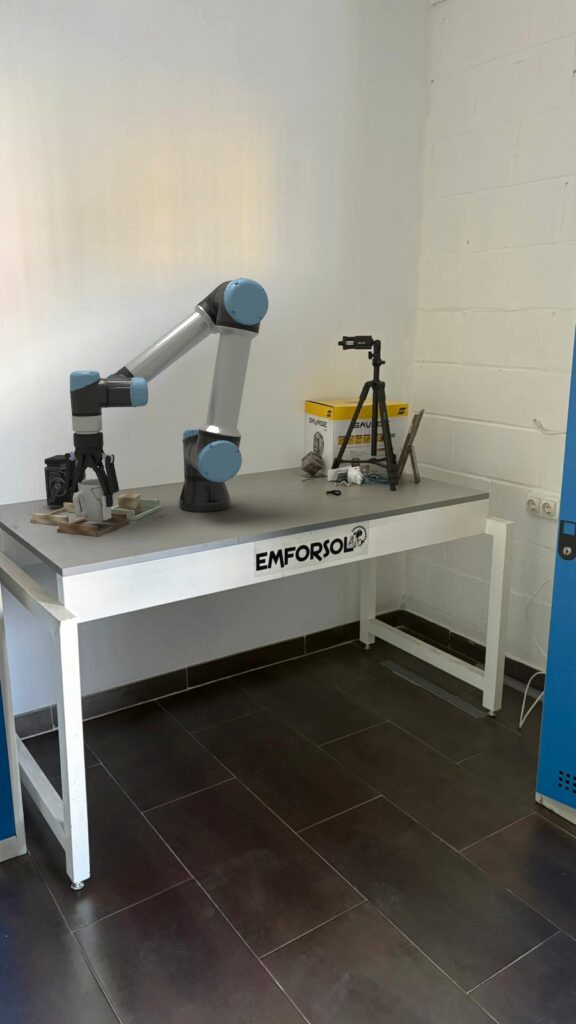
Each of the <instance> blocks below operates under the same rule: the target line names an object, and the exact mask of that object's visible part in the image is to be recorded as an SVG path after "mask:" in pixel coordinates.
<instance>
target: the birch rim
mask: <svg viewBox="0 0 576 1024" xmlns="http://www.w3.org/2000/svg"><path fill="white" fill-rule="evenodd" d="M63 504H64V508H58V509H56V510H54V511H50V512H48V513H37V512H33V513H32V518H31V519H30V523H31V524H41V525H43V524H44V525H50V526H51V525H52V526H59V523H61V522H62V523H74V522H76V521H79V520H81V519H84V517H78V518H76V519H74V520H72V521H70V520H69V516H67V515H58V514H60V513H61V514H62V513H64V512H67V513H75V508H74V504H73V503H66V502H65V503H63ZM69 521H70V522H69Z"/></svg>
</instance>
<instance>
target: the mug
mask: <svg viewBox="0 0 576 1024" xmlns="http://www.w3.org/2000/svg"><path fill="white" fill-rule="evenodd" d="M78 489H79V492H76V493H75V494H74V495H73V504H74V508H75V512H76V515H77V516H78V517H77V518H82V517H84V519H85V520H87V522H104V521H103V507H102V495H103V494H104V492H103V489H102V487H101V485H100V482H99V480H98V478H89V479H86V480H83V481H82V483H80V482H78ZM79 497H80V503H81V507H82V511H83V512H82V513H81V510H80V505H79ZM75 512H74V513H75Z"/></svg>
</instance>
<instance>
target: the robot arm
mask: <svg viewBox="0 0 576 1024" xmlns="http://www.w3.org/2000/svg"><path fill="white" fill-rule="evenodd" d="M268 310H269V297H268V294H267V292H266V290H265V288H264V287H263V286H262V284H260V282H257V281H256V280H254V279H251V278H243V277H239V278H235V279H231V280H230V279H229V280H227V281H224V282H223V281H222V283H221V284H218V285H217V286H215V288H214V289H213V290H212V291H211V292H210V293H209V294H208V295H206V296H205V298H203V299H202V300H201V301H199V302H198V303H197V304H196V305H195V307H194V311H193V312H192V313H191V314H189V315H188V316H186V317H185V318H184V319H182V321H180V322H179V323H177V324H176V325H175V326H173V328H171V329H170V330H168V331H167V332H166V333H164V334H163V335H162V336H160V337H159V338H158V339H157V340H155V341H154V342H153V343H152V344H151V345H149V346H148V347H147V348H145V349H144V350H143V351H141V352H140V353H139V354H138V355H136V357H133V358H132V359H131V360H130V361H129V362H128V363H126V364H125V365H124V366H122V367H121V368H120V369H119V370H117V371H116V372H114V373H112V374H109V375H108V376H106V378H103V377H101V375H100V372H99V371H97V370H76V371H72V372H71V373H70V374H69V395H70V408H71V423H72V424H71V425H72V427H71V428H72V429H71V430H72V431H73V434H72V438H73V447H74V451H69V452H66V453H64V455H65V459H66V470H65V484H64V488H65V489H66V490H69V491H71V493H72V503H73V495H74V494H75V493H76V492H78V491H79V489H78V482H80V483H82V480H83V477H84V473H86V470H87V468H89V469H91V470H92V471H93V472H94V473H95V475H96V479H98V480H99V482H100V485H101V487H102V489H103V492H104V494H103V495H102V507H103V520H107V519H110V518H111V508H112V507H114V498H113V497H114V496H113V495H114V494H115V493H116V494H117V493H118V492H120V487H119V482H118V477H117V472H116V467H115V454H107V453H105V451H104V444H105V443H104V433H103V431H102V430H103V427H104V426H103V412H102V409H108V408H134V409H135V408H138V407H145V406H146V405H148V403H149V386H148V384H149V383H151V381H152V380H153V379H155V378H156V377H157V376H159V375H160V374H161V373H163V372H164V371H165V370H167V369H168V368H169V367H170V366H172V365H173V364H175V363H176V362H177V361H178V360H179V359H180V358H182V357H183V356H184V355H186V354H188V353H189V352H190V351H191V350H192V349H193V348H195V347H196V346H198V344H200V343H201V342H203V341H204V340H205V339H206V338H207V337H209V336H211V334H213V335H217V334H219V339H218V343H217V352H216V358H215V362H214V368H213V369H214V370H213V376H212V382H211V389H210V395H209V401H208V408H207V414H206V421H205V423H204V424H203V425H201V426H200V427H199V428H198V429H197V428H195V429H186V430H184V432H183V433H182V440H181V441H182V448H183V449H182V450H183V451H182V452H183V475H184V476H183V477H184V479H183V480H184V481H183V485H182V487H181V492H180V495H179V499H178V502H179V503H178V505H179V509H181V510H184V511H188V512H194V513H195V512H198V513H199V512H201V513H202V512H203V513H205V512H217V511H218V512H219V511H222V510H225V509H226V510H227V509H229V508H230V507H231V506H232V505H231V504H232V503H231V495H230V493H229V491H228V487H227V484H226V482H227V481H230V480H232V479H233V478H234V477H235V476H237V474H238V473H239V471H240V470H241V469H242V468H241V467H242V463H243V462H242V461H243V456H242V452H241V451H240V446H241V438H242V434H241V433H240V431H239V430H238V425H239V417H240V413H241V412H240V411H241V405H242V399H243V395H244V387H245V383H246V382H245V381H246V377H247V376H246V375H247V370H248V364H249V359H250V351H251V346H252V342H253V341H252V340H254V339H255V338H257V336H259V334H260V327H261V321H262V320H263V319H264V318H265V316H266V315H267V313H268ZM75 459H77V460H78V463H77V466H76V473H75ZM74 474H75V476H74ZM79 505H80V510H81V513H82V512H83V511H82V507H81V503H80V497H79ZM74 516H75V518H79V517H78V516H77V515H76V512H74Z"/></svg>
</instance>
